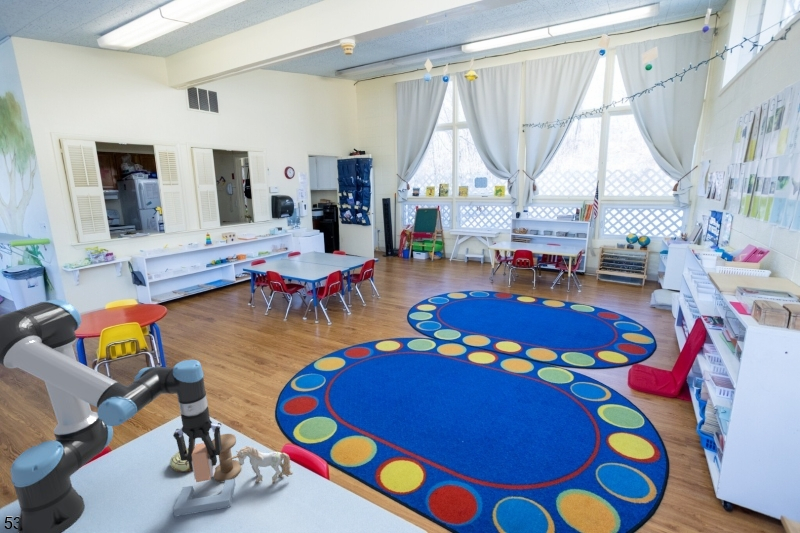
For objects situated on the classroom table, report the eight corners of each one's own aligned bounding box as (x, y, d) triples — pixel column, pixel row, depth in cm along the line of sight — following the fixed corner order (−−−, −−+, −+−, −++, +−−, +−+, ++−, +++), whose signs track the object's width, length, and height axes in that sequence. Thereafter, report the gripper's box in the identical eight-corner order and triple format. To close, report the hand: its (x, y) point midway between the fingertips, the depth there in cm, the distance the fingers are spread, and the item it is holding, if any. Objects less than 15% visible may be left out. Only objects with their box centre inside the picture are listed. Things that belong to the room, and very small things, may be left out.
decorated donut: (185, 478, 135) (183, 468, 134) (164, 469, 140) (163, 460, 139) (210, 458, 144) (209, 449, 144) (190, 450, 149) (189, 441, 148)
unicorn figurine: (234, 479, 134) (229, 445, 131) (292, 465, 140) (289, 433, 137) (232, 494, 127) (227, 459, 124) (293, 480, 133) (290, 446, 130)
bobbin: (210, 483, 132) (205, 452, 129) (216, 465, 141) (212, 434, 138) (238, 479, 134) (234, 447, 131) (243, 461, 142) (239, 431, 140)
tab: (196, 482, 123) (191, 454, 120) (200, 470, 127) (196, 444, 125) (209, 479, 123) (205, 452, 121) (213, 468, 128) (209, 442, 126)
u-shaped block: (174, 516, 120) (173, 509, 119) (183, 493, 128) (182, 487, 128) (230, 506, 123) (229, 500, 122) (235, 485, 131) (234, 478, 131)
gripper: (159, 421, 115) (171, 488, 120) (221, 412, 118) (231, 478, 123) (168, 407, 122) (180, 471, 127) (226, 399, 125) (235, 462, 131)
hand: (205, 474), depth 125 cm, fingers closed on tab, 4 cm apart
